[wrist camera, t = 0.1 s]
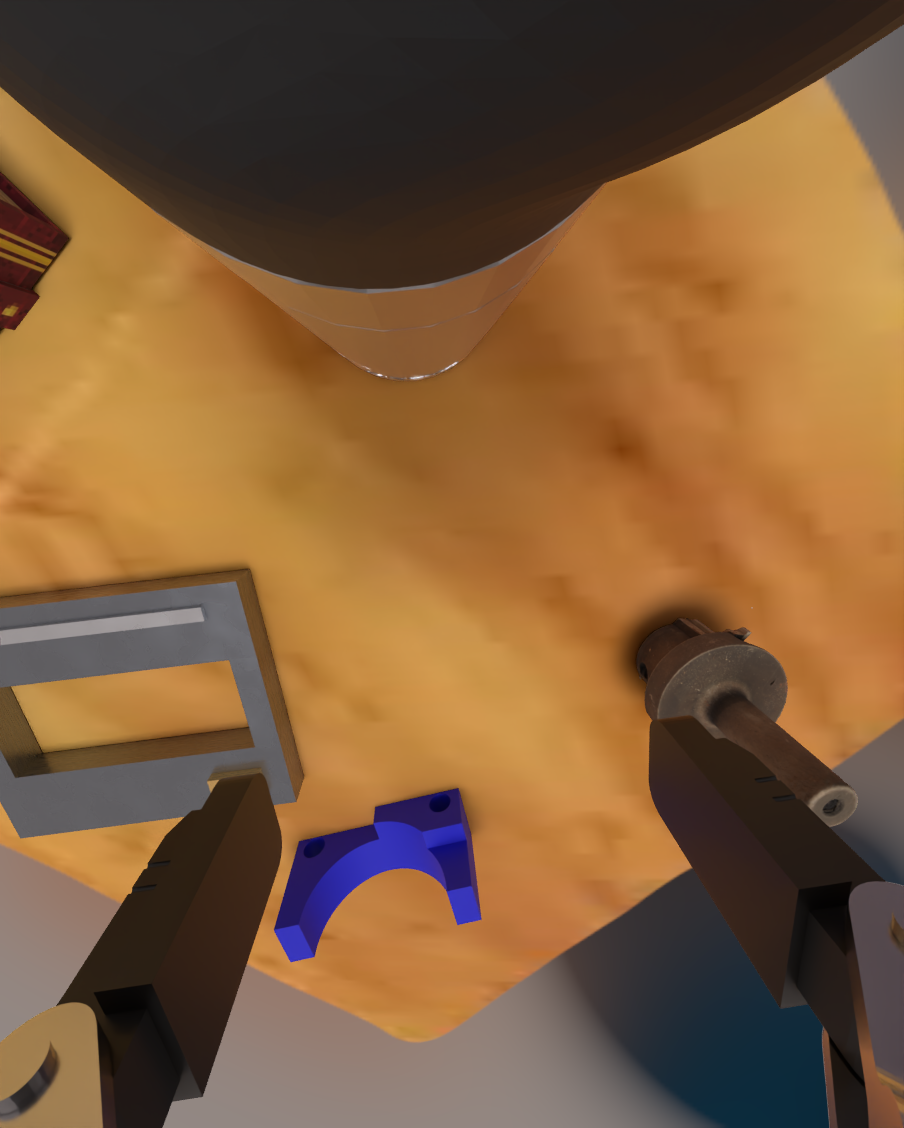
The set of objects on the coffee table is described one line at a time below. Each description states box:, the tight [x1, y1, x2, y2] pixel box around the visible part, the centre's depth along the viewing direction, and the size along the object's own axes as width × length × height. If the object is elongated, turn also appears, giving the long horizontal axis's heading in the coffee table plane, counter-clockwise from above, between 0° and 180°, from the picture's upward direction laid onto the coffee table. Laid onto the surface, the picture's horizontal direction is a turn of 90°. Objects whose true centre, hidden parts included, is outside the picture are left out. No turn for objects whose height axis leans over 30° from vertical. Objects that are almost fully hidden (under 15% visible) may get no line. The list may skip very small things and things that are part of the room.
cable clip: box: [274, 788, 481, 962], centre depth 29 cm, size 12×4×6 cm, turn 102°
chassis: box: [0, 569, 304, 838], centre depth 26 cm, size 15×17×3 cm
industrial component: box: [636, 607, 858, 827], centre depth 23 cm, size 9×7×12 cm
